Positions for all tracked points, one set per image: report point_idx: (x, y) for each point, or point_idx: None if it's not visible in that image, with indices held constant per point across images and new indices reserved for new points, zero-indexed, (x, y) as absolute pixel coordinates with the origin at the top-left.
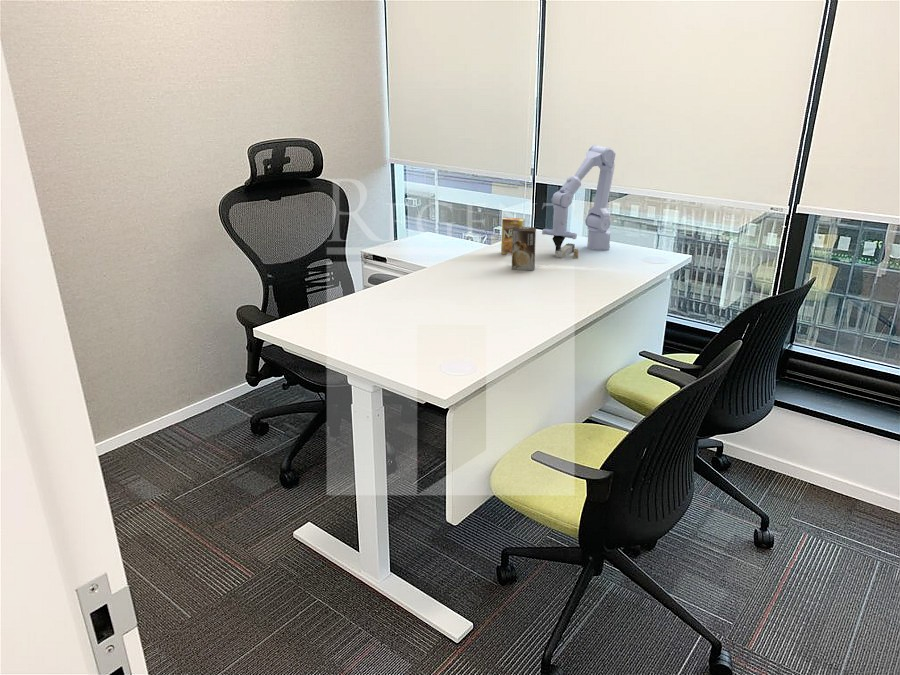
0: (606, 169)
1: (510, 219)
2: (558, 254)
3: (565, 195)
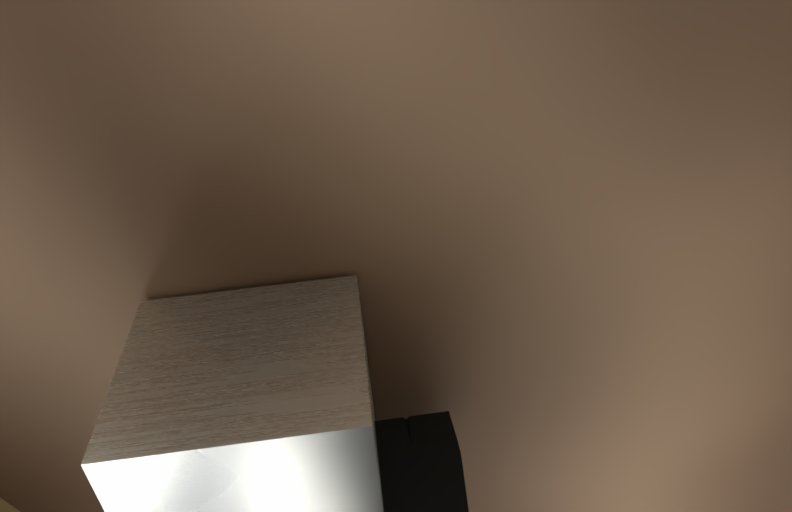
0: None
1: None
2: (273, 346)
3: None
